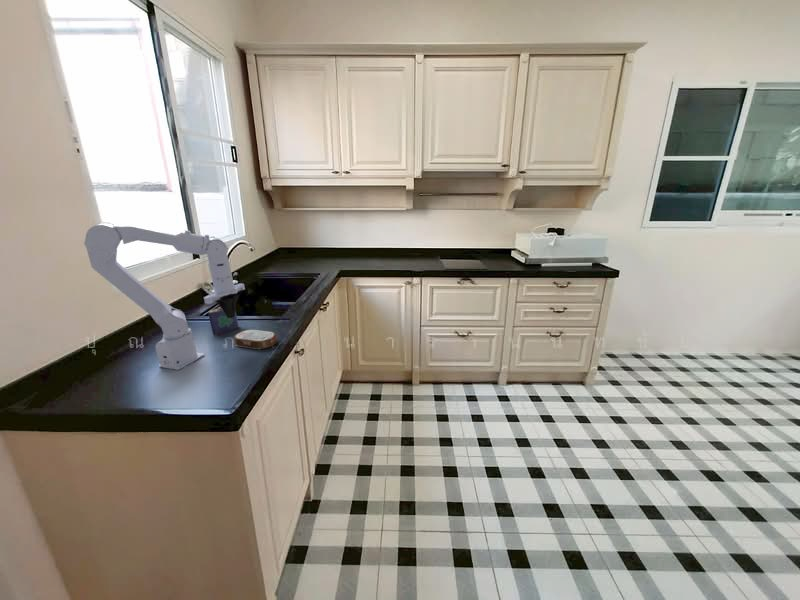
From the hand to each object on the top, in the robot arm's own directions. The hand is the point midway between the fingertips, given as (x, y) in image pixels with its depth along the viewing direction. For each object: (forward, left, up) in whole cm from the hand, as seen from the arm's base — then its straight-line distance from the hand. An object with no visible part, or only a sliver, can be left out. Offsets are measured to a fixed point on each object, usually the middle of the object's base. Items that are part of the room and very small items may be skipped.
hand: (231, 317), depth 109 cm
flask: (+9, +13, -11) cm, 19 cm away
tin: (-1, -5, -8) cm, 10 cm away
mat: (+4, -4, -10) cm, 12 cm away
